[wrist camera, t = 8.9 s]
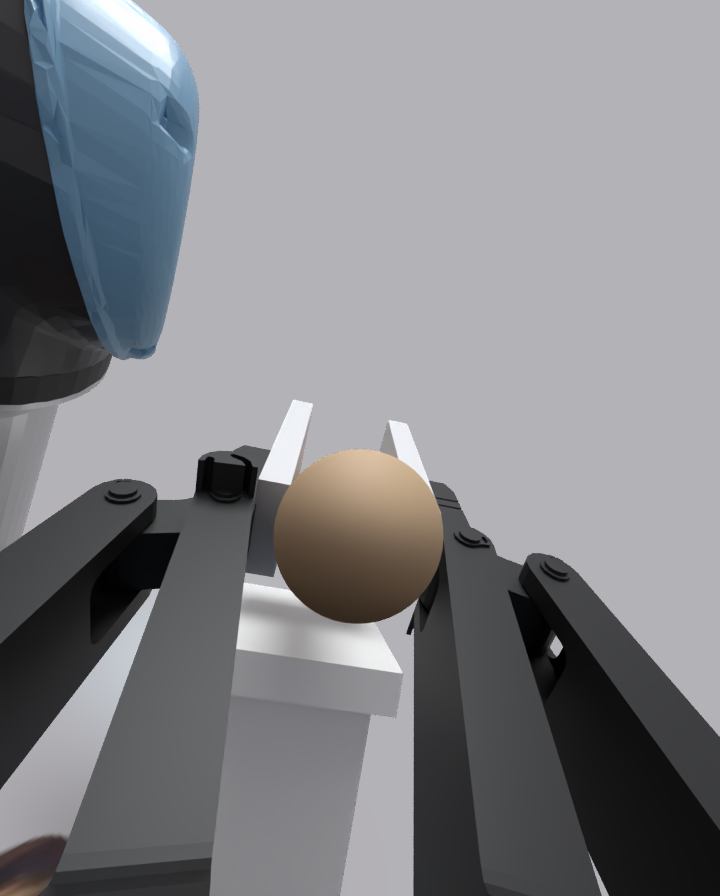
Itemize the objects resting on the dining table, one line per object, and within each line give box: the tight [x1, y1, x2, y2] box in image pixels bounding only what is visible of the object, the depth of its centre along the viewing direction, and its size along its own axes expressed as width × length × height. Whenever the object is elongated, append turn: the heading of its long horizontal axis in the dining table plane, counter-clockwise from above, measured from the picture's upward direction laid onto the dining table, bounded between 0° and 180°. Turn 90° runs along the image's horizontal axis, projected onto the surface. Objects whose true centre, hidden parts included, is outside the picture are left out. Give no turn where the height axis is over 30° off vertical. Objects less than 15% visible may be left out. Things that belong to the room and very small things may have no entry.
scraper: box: [273, 449, 443, 624], centre depth 19 cm, size 23×9×3 cm, turn 8°
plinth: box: [209, 583, 403, 896], centre depth 24 cm, size 14×12×30 cm
